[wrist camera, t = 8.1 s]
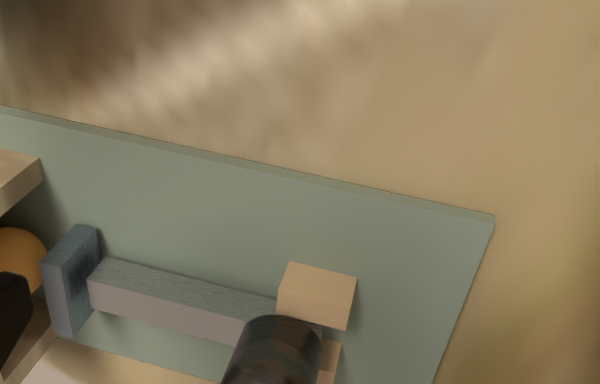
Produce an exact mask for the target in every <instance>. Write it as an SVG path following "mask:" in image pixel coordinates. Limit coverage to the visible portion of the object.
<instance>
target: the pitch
mask: <svg viewBox="0 0 600 384" xmlns="http://www.w3.org/2000/svg"><path fill="white" fill-rule="evenodd" d="M0 148H2V149H6V150H11V151H15V152H19V153H23V154H28V155H32V156H36V157H39V158H40V163H41V168H42V174H43V179H44V180H43V181H42V182H41V183H40V184H39V185H37V186H36V187H35V188H34V189H33V190H31V191H30V192H29V193H28V194H27V195H26V196H24V197H23V198H22V199H21V200H20V201H18V202H17V203H16V204H15V205H14V206H13V207H11V208H10V209H9V210H8V211H7V212H6V213H4V214H3V215H2V216H1V217H0V227H17V228H21V229H24V230H27V231H29V232H31V233H32V234H34V235H35V236H36V237H38V238H39V239H40V240H41V242H42V243H43V245H44V246H45V248H46V250H47V253H48V252H49V251H50V250H51V249H52V248H53V247H54V246H55V245H56V244H57V243H58V241H59V240H60V239H61V238H62V237H63V236H64V235H65V234H66V233H67V232H68V231H69V230H70V229H71V228H72V227H73V226H74V225H75V224H76V223H77V224H81V225H85V226H89V227H93V228H96V231H97V239H98V247H99V255H100V262H101V261H102V260H103V259H104V258H105V257H109V258H113V259H117V260H121V261H125V262H129V263H133V264H137V265H141V266H145V267H149V268H152V269H156V270H160V271H164V272H168V273H172V274H176V275H180V276H184V277H188V278H192V279H196V280H199V281H203V282H207V283H211V284H215V285H219V286H223V287H227V288H231V289H235V290H239V291H243V292H247V293H250V294H254V295H258V296H262V297H266V298H270V299H274V300H277V305H276V313H277V314H281V315H285V316H289V317H293V318H297V319H300V320H304V321H308V322H312V323H316V324H320V325H324V326H323V331H322V336H321V340H320V342H321V344H322V347H323V358H322V362H321V366H320V370H319V374H318V378H317V382H316V384H431V383H432V381H433V378H434V376H435V373H436V371H437V368H438V366H439V363H440V361H441V358H442V356H443V353H444V351H445V348H446V346H447V343H448V341H449V338H450V336H451V333H452V331H453V328H454V326H455V323H456V321H457V318H458V316H459V313H460V311H461V309H462V306H463V304H464V301H465V299H466V296H467V294H468V291H469V289H470V286H471V284H472V281H473V279H474V276H475V274H476V271H477V269H478V266H479V264H480V261H481V259H482V256H483V254H484V251H485V249H486V246H487V244H488V241H489V239H490V236H491V234H492V231H493V229H494V226H495V217H494V215H490V214H486V213H481V212H477V211H472V210H468V209H463V208H459V207H454V206H450V205H445V204H441V203H437V202H432V201H428V200H423V199H419V198H414V197H410V196H405V195H401V194H396V193H392V192H387V191H383V190H378V189H374V188H369V187H365V186H360V185H356V184H351V183H347V182H342V181H338V180H333V179H329V178H324V177H320V176H316V175H311V174H307V173H302V172H298V171H293V170H289V169H284V168H280V167H275V166H271V165H266V164H262V163H257V162H253V161H248V160H244V159H239V158H235V157H230V156H226V155H221V154H217V153H212V152H208V151H203V150H199V149H195V148H190V147H186V146H181V145H177V144H172V143H168V142H163V141H159V140H154V139H150V138H145V137H141V136H136V135H132V134H127V133H123V132H118V131H114V130H109V129H105V128H100V127H96V126H91V125H87V124H83V123H78V122H74V121H69V120H65V119H60V118H56V117H51V116H47V115H42V114H38V113H33V112H29V111H24V110H20V109H15V108H11V107H6V106H2V105H0ZM31 295H32V296H35V297H39V298H42V299H46V296H45V292H44V287H43V282H42V284H41V285H40V286H39V287H38V288H37V289H36V290H35V291H34V292H33V293H32V294H31ZM57 338H60V339H63V340H67V341H70V342H74V343H78V344H81V345H85V346H88V347H92V348H96V349H99V350H103V351H106V352H110V353H113V354H117V355H121V356H124V357H128V358H131V359H135V360H139V361H142V362H146V363H149V364H153V365H156V366H160V367H164V368H167V369H171V370H174V371H178V372H182V373H185V374H189V375H192V376H196V377H199V378H203V379H207V380H210V381H214V382H217V383H221V380H222V378H223V376H224V373H225V371H226V368H227V366H228V364H229V361H230V359H231V357H232V354H233V352H234V350H235V347H234V346H230V345H227V344H223V343H219V342H216V341H212V340H208V339H204V338H201V337H197V336H193V335H189V334H186V333H182V332H178V331H175V330H171V329H167V328H163V327H160V326H156V325H152V324H149V323H145V322H141V321H137V320H134V319H130V318H126V317H123V316H119V315H115V314H111V313H108V312H104V311H100V310H97V309H95V311H94V312H93V313H92V315H91V316H90V317H89V319H88V320H87V321H86V323H85V324H84V325H83V327H82V328H81V329H80V331H79V332H78V333H77V335H76V336H75V337H74V339H72V338H69V337H65V336H61V335H58V336H57Z"/></svg>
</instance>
